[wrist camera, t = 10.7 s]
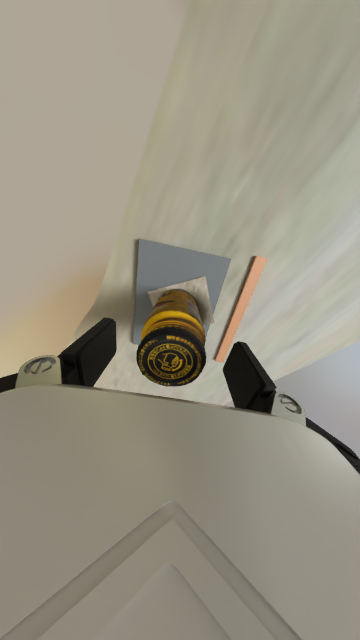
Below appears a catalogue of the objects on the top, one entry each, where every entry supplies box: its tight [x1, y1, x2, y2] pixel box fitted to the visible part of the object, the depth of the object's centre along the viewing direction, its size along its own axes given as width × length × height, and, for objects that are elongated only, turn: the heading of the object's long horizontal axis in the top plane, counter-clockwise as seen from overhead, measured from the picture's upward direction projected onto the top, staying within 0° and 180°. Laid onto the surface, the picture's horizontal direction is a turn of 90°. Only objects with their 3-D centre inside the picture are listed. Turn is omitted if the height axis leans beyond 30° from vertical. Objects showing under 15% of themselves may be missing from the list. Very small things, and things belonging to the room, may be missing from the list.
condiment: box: [137, 276, 214, 386], centre depth 15 cm, size 7×8×12 cm
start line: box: [215, 256, 267, 362], centre depth 22 cm, size 18×2×1 cm, turn 169°
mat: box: [133, 239, 231, 345], centre depth 21 cm, size 16×12×1 cm
